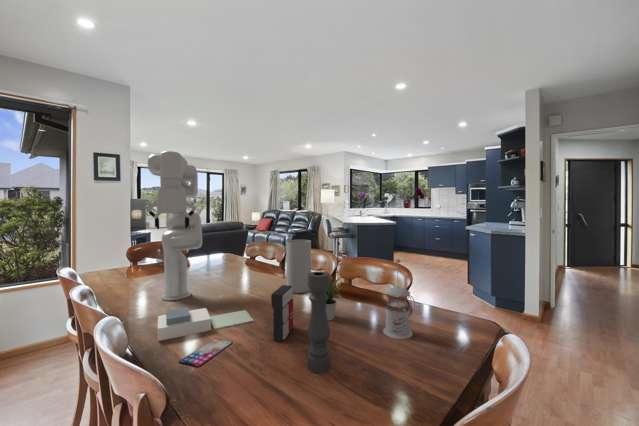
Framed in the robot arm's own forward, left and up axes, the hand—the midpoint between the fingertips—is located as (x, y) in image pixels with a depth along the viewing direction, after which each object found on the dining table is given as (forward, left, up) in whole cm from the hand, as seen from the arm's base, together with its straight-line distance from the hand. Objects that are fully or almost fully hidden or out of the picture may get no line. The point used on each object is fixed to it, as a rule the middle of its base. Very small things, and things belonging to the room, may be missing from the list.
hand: (172, 228), depth 110 cm
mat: (+14, +19, -35) cm, 42 cm away
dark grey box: (+35, +32, -35) cm, 58 cm away
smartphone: (+35, +8, -35) cm, 50 cm away
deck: (+14, +3, -35) cm, 37 cm away
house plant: (+31, +53, -35) cm, 70 cm away
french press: (+53, +67, -35) cm, 92 cm away
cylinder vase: (-7, +57, -35) cm, 67 cm away
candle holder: (+58, +33, -35) cm, 75 cm away
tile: (+14, +1, -31) cm, 33 cm away
